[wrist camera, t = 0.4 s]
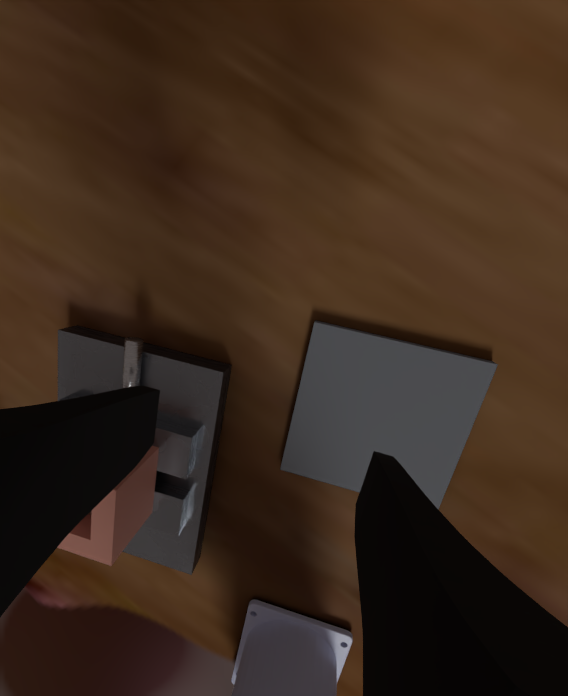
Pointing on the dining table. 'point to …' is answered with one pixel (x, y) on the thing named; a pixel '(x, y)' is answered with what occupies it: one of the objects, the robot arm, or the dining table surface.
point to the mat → (382, 408)
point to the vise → (159, 429)
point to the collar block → (116, 515)
